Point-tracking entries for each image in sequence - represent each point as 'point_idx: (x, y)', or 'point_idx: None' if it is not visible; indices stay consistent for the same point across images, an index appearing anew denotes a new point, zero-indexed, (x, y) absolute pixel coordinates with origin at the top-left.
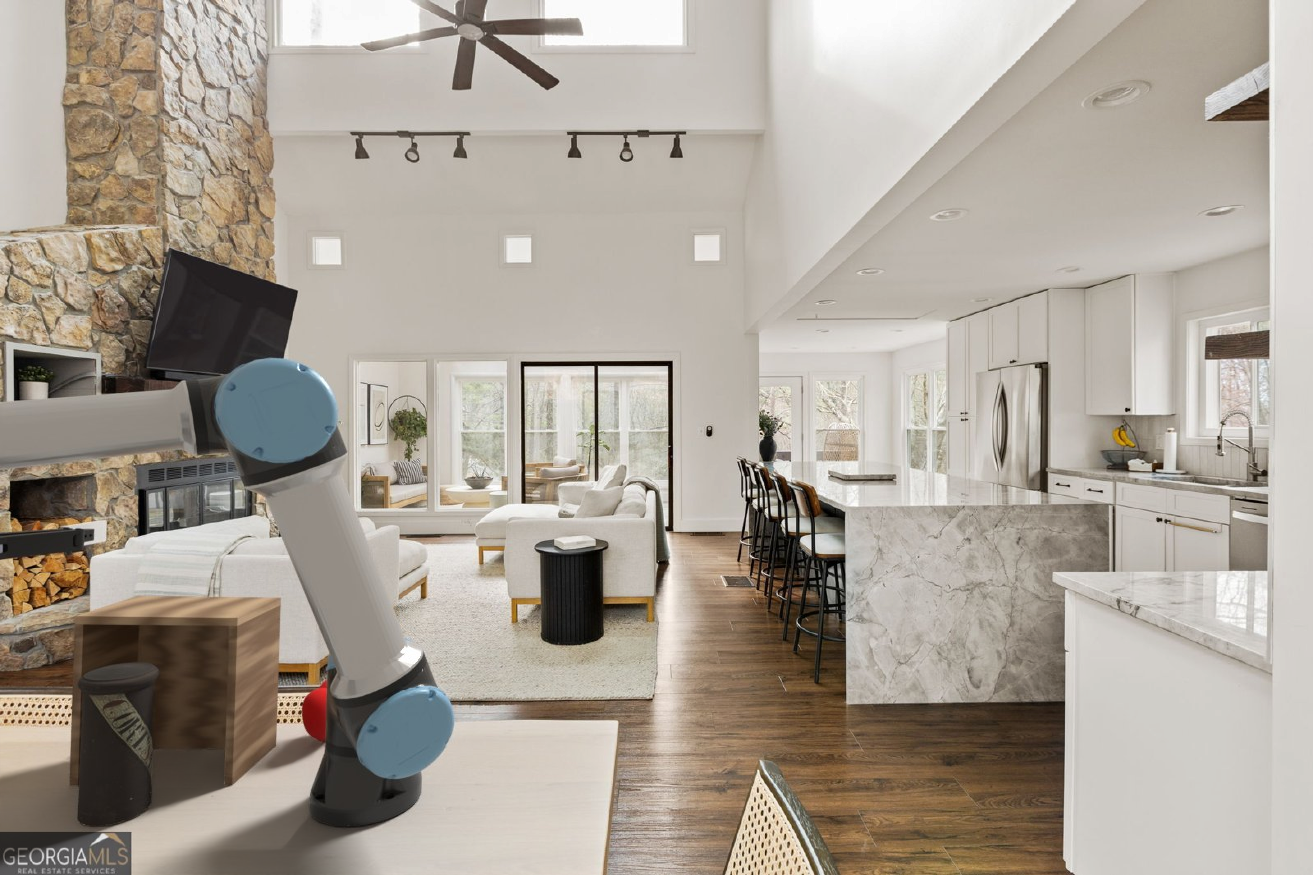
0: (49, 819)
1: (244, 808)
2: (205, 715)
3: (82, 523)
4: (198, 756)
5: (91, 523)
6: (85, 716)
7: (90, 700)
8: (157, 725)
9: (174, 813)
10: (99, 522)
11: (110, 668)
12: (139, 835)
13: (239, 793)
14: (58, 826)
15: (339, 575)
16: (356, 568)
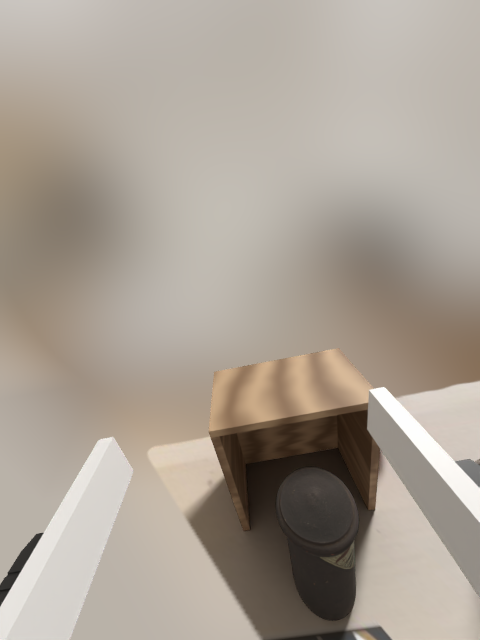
0: (277, 604)
1: (435, 553)
2: (291, 438)
3: (428, 452)
4: (299, 466)
5: (425, 433)
6: (310, 564)
7: (318, 558)
8: (257, 449)
9: (381, 574)
10: (401, 408)
11: (303, 501)
12: (397, 635)
13: (397, 523)
14: (297, 621)
15: None
16: None
